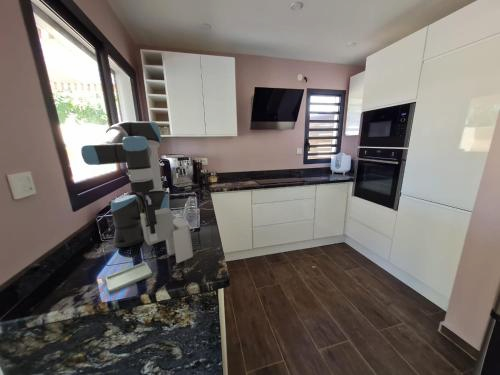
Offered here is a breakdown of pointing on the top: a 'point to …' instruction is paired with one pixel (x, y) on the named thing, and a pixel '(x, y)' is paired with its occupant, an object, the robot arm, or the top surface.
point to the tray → (127, 277)
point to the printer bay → (180, 241)
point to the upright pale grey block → (159, 225)
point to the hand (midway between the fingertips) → (151, 237)
